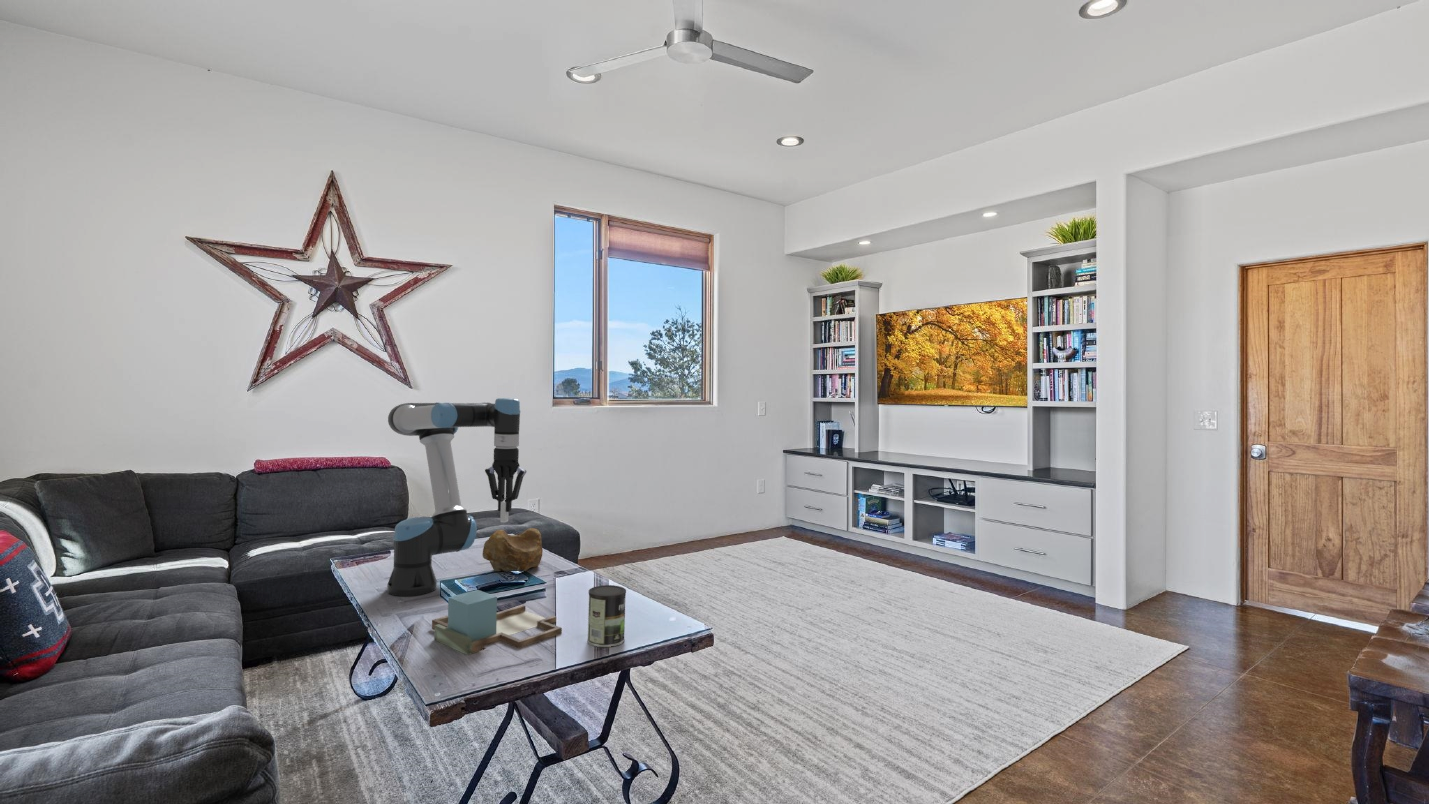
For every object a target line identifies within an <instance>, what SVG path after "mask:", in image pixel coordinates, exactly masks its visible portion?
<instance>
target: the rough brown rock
mask: <svg viewBox="0 0 1429 804" xmlns="http://www.w3.org/2000/svg"><path fill="white" fill-rule="evenodd" d="M543 551H544V550H543V545H542V534H541V532H540V531H539V529H537V528H533V527H529V528H527V529H526V530H525V531H523V532H522V533H521V534H508V533H507V532H506V531H505V530H504V529H498V530H496V531H495V532H493V533H492V534H491V535H490V536H489V538H488V539H487V540H485V543H484V545H483V549H482V558H483V559H484V560H486V561H489V563H490V565H491V568H492V569H493V571H494V572H501V571H503V572H505V571H506V572H507V571H509V572H510V571H525V572H526V571H528V570H529V569H530V568H537V567H539V565H540V564H541V560H542V559H543V558H542V557H543Z"/></svg>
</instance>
